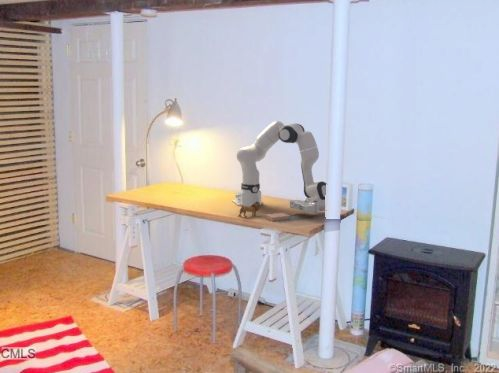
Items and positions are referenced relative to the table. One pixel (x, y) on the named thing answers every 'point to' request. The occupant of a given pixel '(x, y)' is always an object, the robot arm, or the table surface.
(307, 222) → the table surface
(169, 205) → the table surface
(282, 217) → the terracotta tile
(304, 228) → the table surface
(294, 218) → the rubber mat
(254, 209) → the lion figurine
